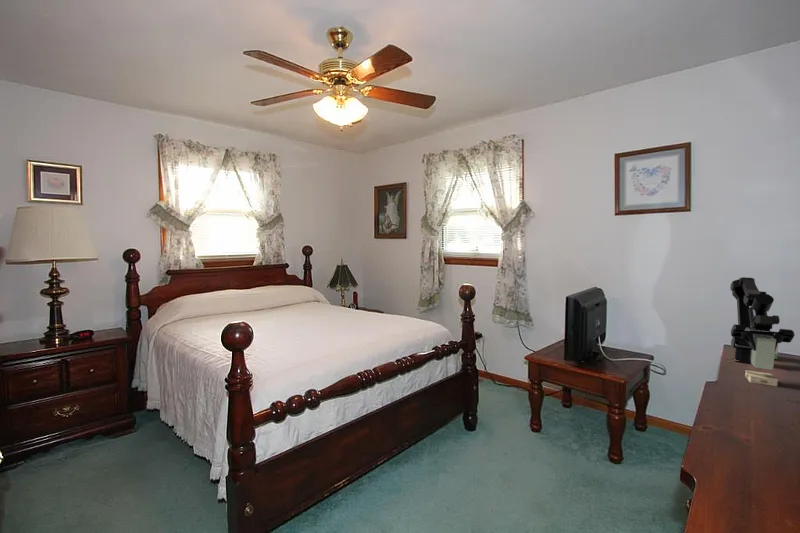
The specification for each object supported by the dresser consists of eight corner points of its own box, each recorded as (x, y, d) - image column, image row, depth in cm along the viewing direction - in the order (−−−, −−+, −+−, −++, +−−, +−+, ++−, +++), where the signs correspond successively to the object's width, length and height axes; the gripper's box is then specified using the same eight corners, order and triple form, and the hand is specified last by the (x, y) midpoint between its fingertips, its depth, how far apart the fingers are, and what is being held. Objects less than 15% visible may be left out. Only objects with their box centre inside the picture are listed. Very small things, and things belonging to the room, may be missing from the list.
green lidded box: (750, 363, 166) (753, 334, 165) (769, 365, 163) (771, 336, 162) (754, 367, 161) (757, 337, 160) (773, 369, 158) (776, 339, 157)
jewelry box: (744, 377, 168) (745, 370, 168) (770, 380, 164) (771, 373, 164) (750, 383, 160) (750, 376, 160) (777, 387, 157) (778, 380, 156)
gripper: (734, 305, 168) (738, 337, 159) (795, 309, 159) (803, 344, 150) (729, 320, 175) (732, 351, 167) (786, 325, 166) (793, 359, 157)
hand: (764, 351), depth 160 cm, fingers closed on green lidded box, 5 cm apart
